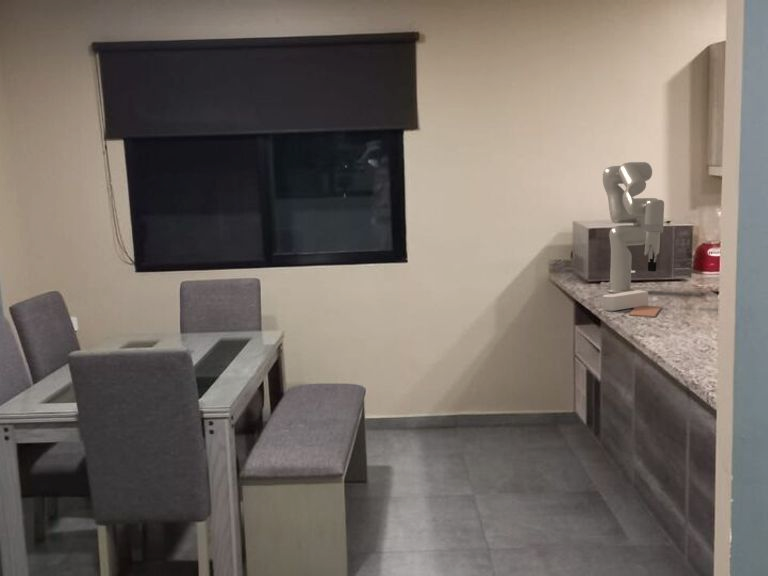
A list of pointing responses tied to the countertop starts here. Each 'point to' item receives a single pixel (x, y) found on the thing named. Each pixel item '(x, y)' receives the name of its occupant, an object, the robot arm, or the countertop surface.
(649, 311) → the mat
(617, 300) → the milk
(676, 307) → the countertop surface
